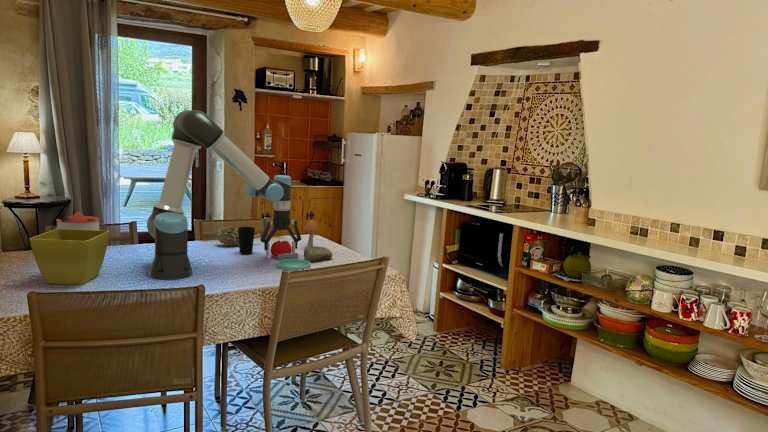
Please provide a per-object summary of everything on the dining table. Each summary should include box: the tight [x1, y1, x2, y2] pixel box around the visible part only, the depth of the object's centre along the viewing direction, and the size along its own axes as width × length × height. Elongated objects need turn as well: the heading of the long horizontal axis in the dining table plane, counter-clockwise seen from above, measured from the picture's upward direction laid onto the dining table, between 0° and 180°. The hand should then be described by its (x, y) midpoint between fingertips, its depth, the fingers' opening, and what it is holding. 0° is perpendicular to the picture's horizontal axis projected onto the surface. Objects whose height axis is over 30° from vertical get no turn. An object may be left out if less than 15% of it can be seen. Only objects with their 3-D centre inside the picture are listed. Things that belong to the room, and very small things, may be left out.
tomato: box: [270, 240, 292, 259], centre depth 242 cm, size 9×9×8 cm
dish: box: [275, 258, 312, 271], centre depth 227 cm, size 14×14×2 cm
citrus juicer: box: [55, 211, 101, 230], centre depth 218 cm, size 16×17×20 cm
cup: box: [237, 226, 256, 256], centre depth 245 cm, size 8×8×12 cm
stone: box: [303, 245, 333, 263], centre depth 241 cm, size 9×14×10 cm, turn 134°
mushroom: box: [303, 219, 320, 247], centre depth 262 cm, size 8×8×15 cm
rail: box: [277, 252, 299, 261], centre depth 235 cm, size 9×1×4 cm, turn 119°
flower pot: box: [29, 228, 110, 285], centre depth 190 cm, size 19×19×17 cm
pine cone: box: [215, 225, 261, 247], centre depth 261 cm, size 22×10×10 cm, turn 120°
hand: (280, 256), depth 242 cm, fingers open, 11 cm apart
